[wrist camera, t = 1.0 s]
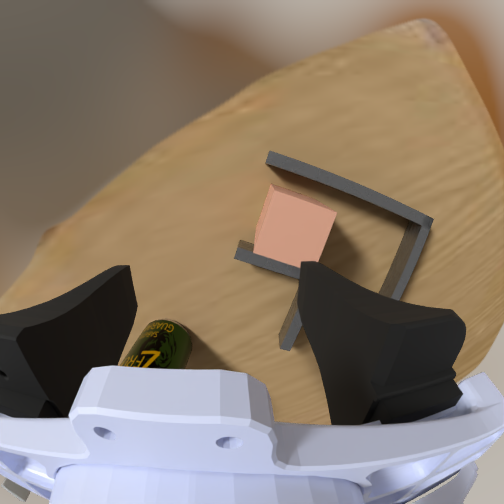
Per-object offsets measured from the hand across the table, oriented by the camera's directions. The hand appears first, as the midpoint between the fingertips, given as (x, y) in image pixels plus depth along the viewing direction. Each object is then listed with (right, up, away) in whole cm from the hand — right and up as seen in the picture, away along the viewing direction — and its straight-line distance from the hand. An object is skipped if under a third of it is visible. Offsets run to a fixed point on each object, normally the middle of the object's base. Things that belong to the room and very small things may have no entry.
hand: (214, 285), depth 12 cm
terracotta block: (+4, +5, +13) cm, 15 cm away
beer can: (-7, -8, +17) cm, 20 cm away
